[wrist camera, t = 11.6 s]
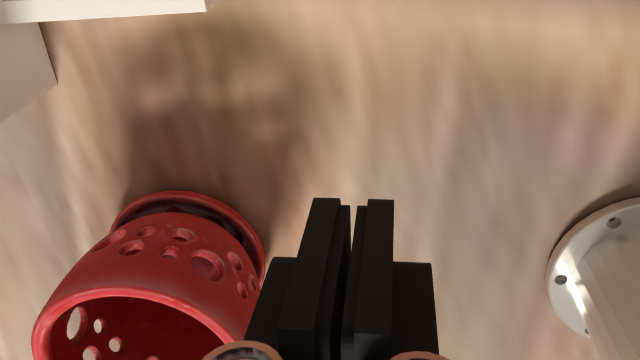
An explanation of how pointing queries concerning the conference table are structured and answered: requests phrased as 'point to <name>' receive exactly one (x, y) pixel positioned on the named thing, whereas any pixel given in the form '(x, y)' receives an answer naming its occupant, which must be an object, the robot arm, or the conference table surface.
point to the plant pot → (158, 284)
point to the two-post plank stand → (29, 48)
